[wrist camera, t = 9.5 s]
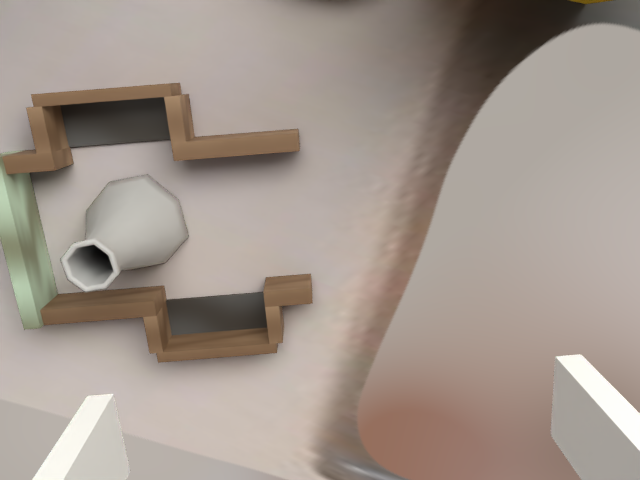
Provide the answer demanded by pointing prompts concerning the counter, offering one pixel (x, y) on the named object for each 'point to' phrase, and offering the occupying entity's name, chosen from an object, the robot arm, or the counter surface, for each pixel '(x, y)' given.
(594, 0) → the alarm clock
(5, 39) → the counter surface
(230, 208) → the counter surface
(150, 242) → the flask
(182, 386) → the counter surface
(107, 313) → the box
